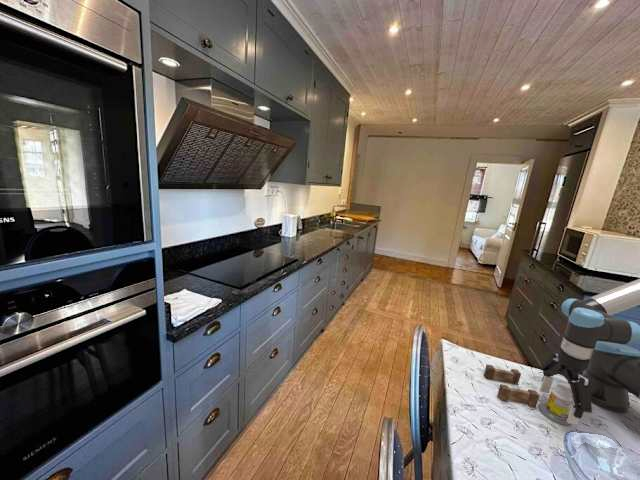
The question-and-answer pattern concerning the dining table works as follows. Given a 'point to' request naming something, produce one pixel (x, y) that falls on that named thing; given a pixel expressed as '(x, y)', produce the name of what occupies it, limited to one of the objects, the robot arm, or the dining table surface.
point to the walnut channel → (511, 393)
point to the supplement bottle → (559, 401)
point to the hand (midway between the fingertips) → (557, 406)
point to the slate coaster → (545, 412)
